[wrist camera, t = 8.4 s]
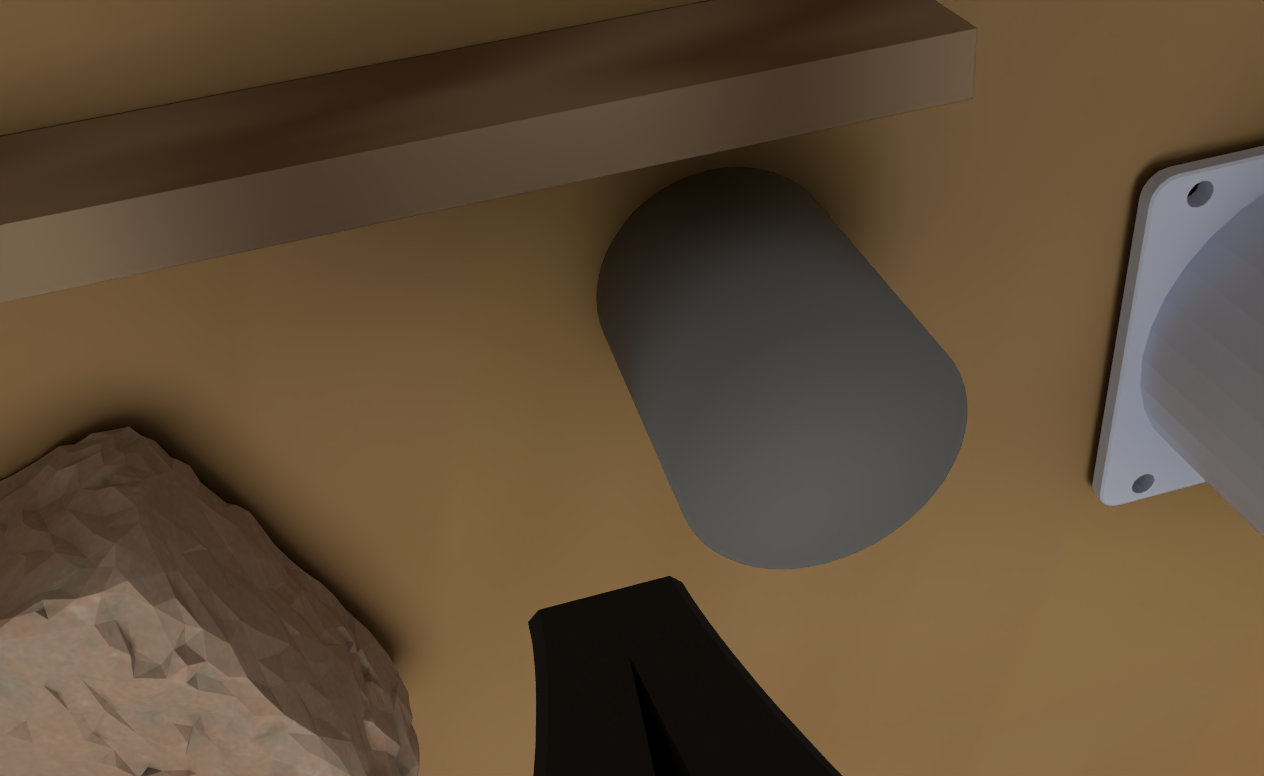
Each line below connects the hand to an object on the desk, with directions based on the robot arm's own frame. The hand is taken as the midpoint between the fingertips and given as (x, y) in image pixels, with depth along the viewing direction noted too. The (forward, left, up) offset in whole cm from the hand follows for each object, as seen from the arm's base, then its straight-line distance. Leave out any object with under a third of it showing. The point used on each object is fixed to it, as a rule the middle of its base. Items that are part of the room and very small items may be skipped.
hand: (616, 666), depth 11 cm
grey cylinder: (-4, +2, -10) cm, 11 cm away
